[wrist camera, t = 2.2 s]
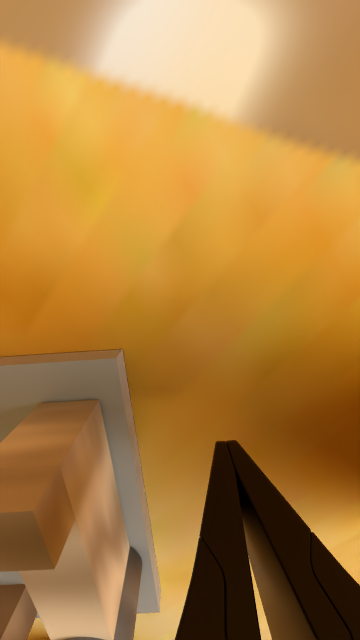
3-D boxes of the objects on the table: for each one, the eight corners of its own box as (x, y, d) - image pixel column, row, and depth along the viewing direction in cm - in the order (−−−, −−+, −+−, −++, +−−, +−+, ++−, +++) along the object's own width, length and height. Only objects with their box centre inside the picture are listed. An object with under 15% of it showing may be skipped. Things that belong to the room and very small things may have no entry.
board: (160, 590, 15) (159, 612, 14) (-32, 599, 16) (-46, 621, 15) (122, 349, 10) (116, 358, 9) (-172, 368, 10) (-209, 379, 9)
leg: (145, 580, 13) (129, 731, 9) (85, 583, 13) (41, 734, 9) (111, 398, 9) (55, 509, 5) (27, 403, 9) (-97, 518, 5)
